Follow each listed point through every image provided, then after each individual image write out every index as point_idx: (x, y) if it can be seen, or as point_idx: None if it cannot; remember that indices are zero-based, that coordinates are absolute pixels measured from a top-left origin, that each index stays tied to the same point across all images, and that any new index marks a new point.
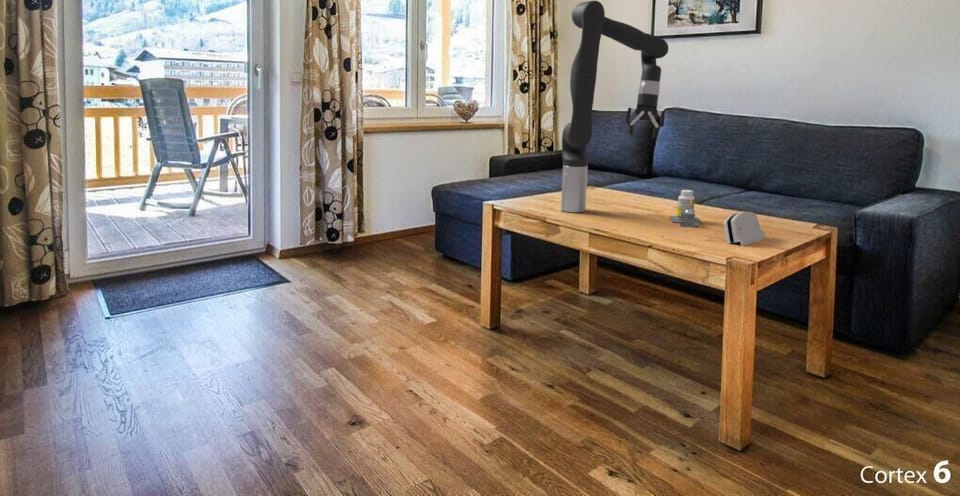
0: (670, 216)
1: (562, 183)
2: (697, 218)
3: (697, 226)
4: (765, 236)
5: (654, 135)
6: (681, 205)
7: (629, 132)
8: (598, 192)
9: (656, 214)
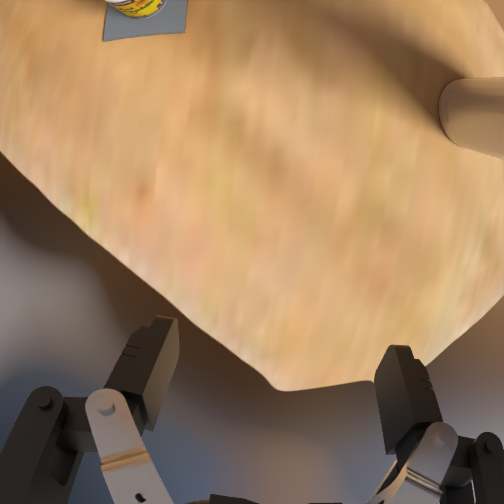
0: (182, 22)
1: None
2: (109, 19)
3: None
4: None
5: (159, 327)
6: None
7: (422, 367)
8: (343, 379)
9: (220, 61)
